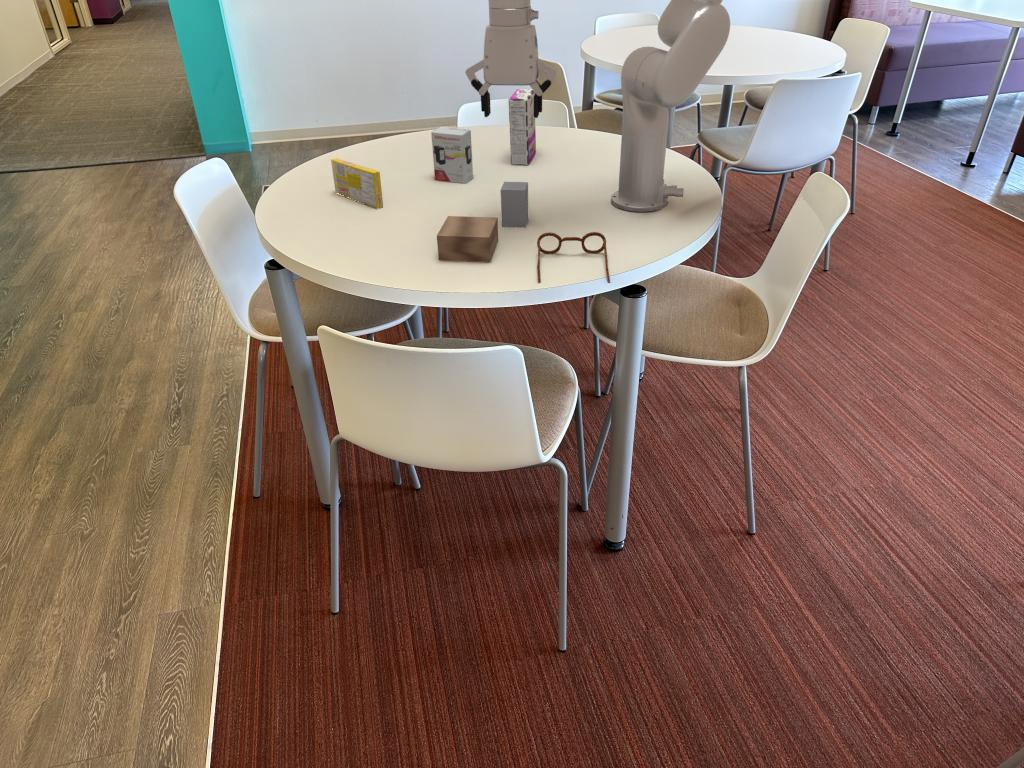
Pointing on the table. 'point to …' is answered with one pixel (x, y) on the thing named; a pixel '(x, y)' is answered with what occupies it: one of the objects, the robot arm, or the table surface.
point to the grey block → (514, 204)
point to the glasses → (572, 240)
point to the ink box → (452, 154)
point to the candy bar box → (522, 126)
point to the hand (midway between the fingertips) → (511, 115)
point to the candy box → (357, 182)
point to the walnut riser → (468, 239)
